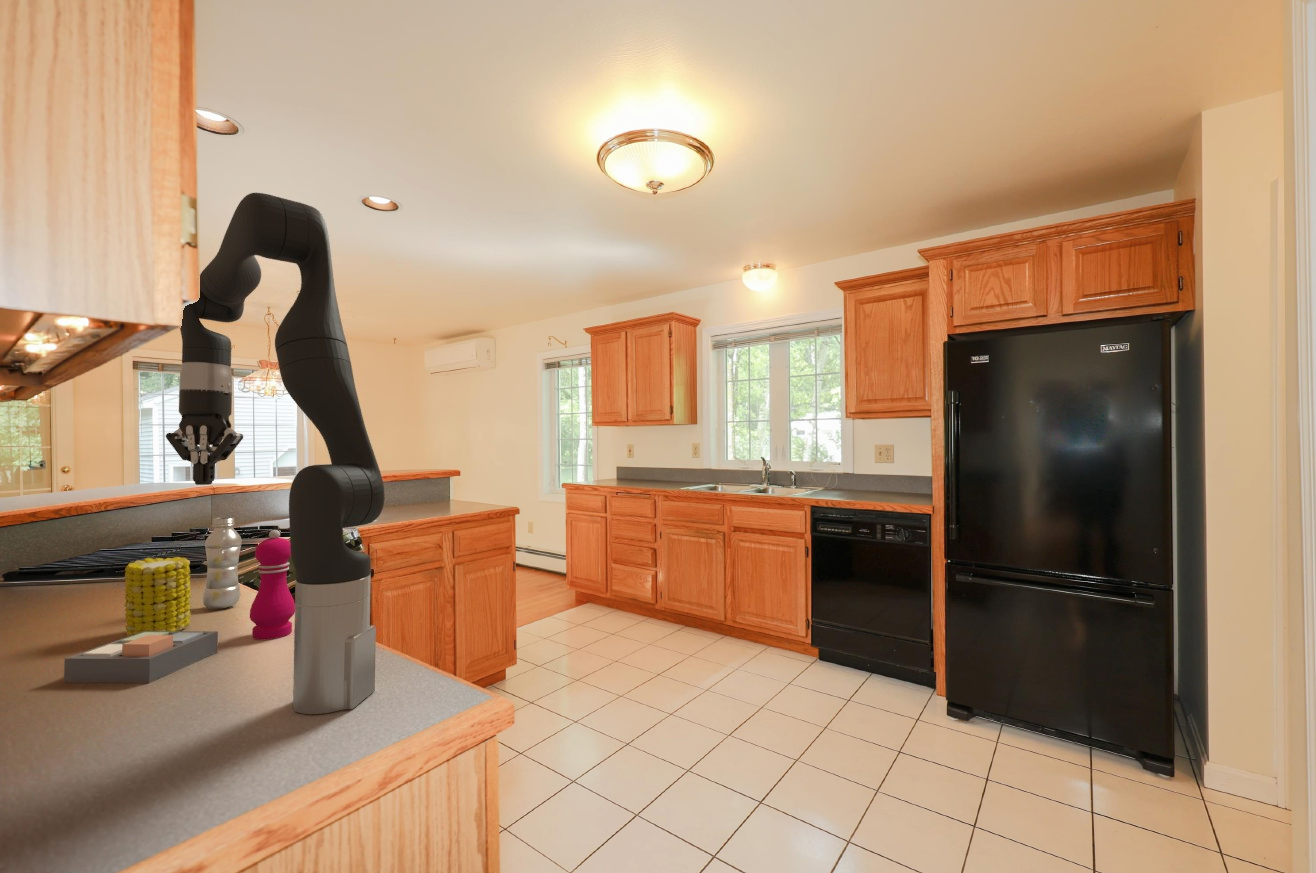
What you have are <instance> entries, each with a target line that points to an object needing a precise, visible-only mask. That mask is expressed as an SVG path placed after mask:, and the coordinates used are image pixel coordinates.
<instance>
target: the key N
mask: <svg viewBox="0 0 1316 873" xmlns="http://www.w3.org/2000/svg"><path fill="white" fill-rule="evenodd" d="M121 652H122V644H109V645H106V646H103V647H101V648H98V649H95V650H92V651H89V652H86V653H83V656H113V655H115V654H118V653H121Z"/></svg>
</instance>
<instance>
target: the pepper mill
mask: <svg viewBox="0 0 1316 873" xmlns="http://www.w3.org/2000/svg"><path fill="white" fill-rule="evenodd" d="M268 537H269V538H267V539H263V540H262V541H261V542H259V543H258V545H257V546H256V548H255V551H254V557H255V559H256V561H258V562H259V563H260V564H258V565H257V567H258V570H257V573H258V574H260V575H259V576H260V582H259V587H258V591H257V592H256V593H257V594H256V595H255V597H254V599H253V602H252V603H251V607H250V610H249V619H250V621H251V622H252V623H253V624H254V625H255V626H253V628H252V629H251V630H252V632H251V638H253V640H259V641H265V640H266V641H267V640H275V639H279V638H282V637H287V636H288V635H290V634H291V633H292V632H293V622H292V621H290V619H291V618H292V617H293V616H295V598H293V596H292V594H291V592H290V589H289V587H288V583H287V580H288V579H287V572H288V570H290V566H289V565H290V564H291V563H290V562H289V561H288V560H289V559H290V558H291V549H290V540H288V539H286V538H283V537H281V532H280V531H279V530H278V529H272V530H270V532H269V533H268Z"/></svg>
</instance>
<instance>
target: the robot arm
mask: <svg viewBox="0 0 1316 873" xmlns="http://www.w3.org/2000/svg"><path fill="white" fill-rule="evenodd" d="M229 221H230V222H229V224H228V226H227V228H226V231H225V232H224V236H223V239H222V241H221V243H220V244H221V245H220V247H219V250H218V251H217V253H216V255H215V256H214V258H212V260H211V261H209V263H208V265H207V266H205V267H204V269H203V270H202V271H201V272H200V274H199V276H200V298H199V300H198V301H197V302H195V303H193V304H189V305H187V306H185V308H184V310H183V319H182V326H181V328H180V327H179V331H180V334H181V342H182V343H181V345H182V346H181V350H182V351H181V369H180V372H179V382H178V383H179V386H178V387H179V389H178V393H179V394H178V413H179V414H180V416H181V420H180V422H179V424H178V429H176V430H175V431H173V432H167V433H166V434H165V438H166V440H167V441H168V442H169V444H170V446H172V448H173V449H174V451H175V453H177V454H178V456H179V457H180V459H182V461H188V462H190V463H192V479H193V482H194V485H196V486H207V485H208V486H209V485H212V484H213V482H214V481H215V478H216V475H215V473H216V464H217V463H218V462H221V461H226V460H227V459H228V458H229V456H230V455H231V454H232V453H233V452H234V451H235V449H236V448H237V447H238V446H239V445H240V443H242V442H241V441H243V439H244V434H243V433H238V432H236V430H234V429H232V423H231V421H230V416H231V415H232V413H233V412H232V409H233V408H232V406H233V404H232V403H233V401H232V399H233V374H232V341H231V338H229V336H227V335H224V334H222V333H219V332H216V331H213V330H211V329H209V328H206V326H204V325H203V323H202V322H201V320H207V321H212V322H213V321H214V322H219V323H233V322H236V321H238V320H240V319H241V318H242V316H243V313H244V310H245V300H246V299H247V297H249V296H250V295H251V293H253V291H255V290H256V289H257V287H258V286H259V285H260V282H261V279H262V269H261V265H260V264H259V261H258V260H257V258H256V256H258V257H261V258H264V259H269V260H274V261H280V262H285V263H290V264H295V265H296V266H297V267H298V269H299V272H300V277H301V278H300V281H301V284H300V291H299V292H298V294H297V296H296V299H295V301H294V303H293V304H292V305H291V307H290V309H289V310H288V312H287V313H286V315H285V316H284V317H283V319H282V321H281V322H280V324H279V325H278V326H279V327H278V328H277V331H276V332H275V338H274V347H275V348H274V349H275V353H276V357H277V363H278V368H279V374H280V377H281V378H280V379H281V381H282V384H283V386H284V388H285V390H286V391H287V393H288V395H289V396H290V397H291V399H292V400H293V401H294V402H295V404H296V405H297V407H298V408H299V409H300V410H301V411H302V412H303V413H304V415H305V416H306V417H307V418H308V419H309V420H310V422H312V424H313V425H314V426H315V427H316V429H317V430H318V432H319V433H320V435H321V437H322V439H323V441H324V443H325V445H326V448H327V453H328V456H329V460H330V462H331V464H328V463H327V464H313V465H308V466H305V467H303V468H302V469H301V470H299V472H297V474H296V475H295V476H294V478H293V480H292V483H291V486H290V491H289V495H288V496H289V497H288V518H289V521H288V522H289V523H288V524H289V542H290V549H291V557H290V558H291V561H292V564H293V567H294V569H295V570H294V571H295V587H294V588H295V589H294V590H295V591H294V592H295V593H294V596H295V597H294V603H295V613H294V635H293V636H294V638H293V639H294V642H293V643H294V645H293V687H292V688H293V690H292V696H293V697H292V709H293V710H294V711H295V712H297V713H300V714H305V715H320V714H328V713H333V712H339V711H343V710H352V709H354V708H355V707H357V706H358V705H360V703H362V702H363V701H364V700H365V699H367V698H368V697H369V696H370V695H371V694H372V693H374V692H375V690H376V651H377V650H376V648H377V646H376V643H377V642H376V639H377V632H376V631H377V627H376V626H375V625H373V624H370V623H371V619H370V618H371V616H370V615H371V571H372V569H371V568H372V562H371V561H372V560H371V557H370V555H369V554H368V553H366V552H363V551H359V550H353V549H351V548H349V547H348V546H347V545H346V544H345V540H344V530H343V529H347V528H354V527H360V526H366V525H369V524H371V523H373V522H375V521H376V520H377V519H378V518H379V517H380V515H381V514H382V511H383V509H384V505H385V498H386V497H385V496H386V495H385V486H384V480H383V476H382V473H381V470H380V467H379V464H378V461H377V458H376V456H375V455H376V454H375V453H374V449H373V445H372V444H371V441H370V437H369V434H368V431H367V428H366V424H365V421H364V418H363V417H364V416H363V412H362V409H361V405H360V401H359V397H358V393H357V392H358V391H357V389H356V384H355V379H354V373H353V367H352V361H351V356H350V352H349V348H348V343H347V339H346V336H345V332H344V329H343V328H344V327H343V324H342V320H341V314H340V309H339V305H338V300H337V296H336V295H337V294H336V288H335V281H334V273H333V272H334V271H333V261H332V254H331V253H332V252H331V246H330V245H331V244H330V238H329V237H330V235H329V232H328V228H327V223H326V221H325V219H324V217H323V214H322V213H321V212H320V211H319V209H317V208H316V207H313V206H311V205H309V204H306V203H302V202H299V201H295V200H291V199H287V198H283V197H280V196H276V195H272V194H268V193H264V192H251V193H248V194H246V195H245V196H244V197H243V198H242V199H241V200H240V201H239V203H238V204H237V207H236V208H235V211H234V213H233V214H232V217H231V219H230V220H229Z"/></svg>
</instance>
